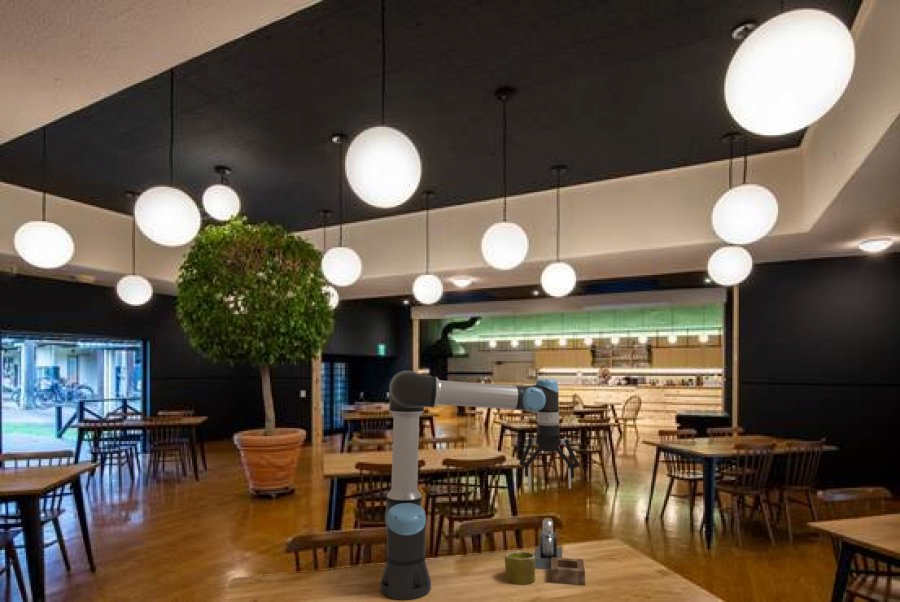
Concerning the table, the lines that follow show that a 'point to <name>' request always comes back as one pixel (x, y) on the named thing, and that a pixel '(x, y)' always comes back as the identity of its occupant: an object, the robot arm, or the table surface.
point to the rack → (567, 571)
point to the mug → (520, 567)
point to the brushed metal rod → (548, 539)
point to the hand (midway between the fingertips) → (549, 487)
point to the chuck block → (539, 560)
